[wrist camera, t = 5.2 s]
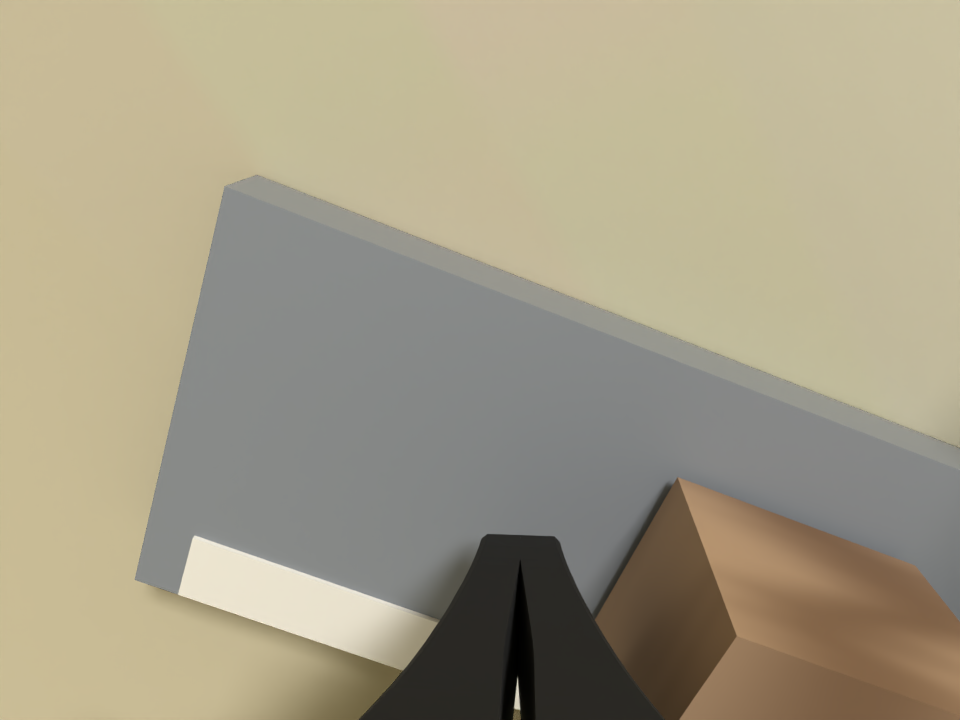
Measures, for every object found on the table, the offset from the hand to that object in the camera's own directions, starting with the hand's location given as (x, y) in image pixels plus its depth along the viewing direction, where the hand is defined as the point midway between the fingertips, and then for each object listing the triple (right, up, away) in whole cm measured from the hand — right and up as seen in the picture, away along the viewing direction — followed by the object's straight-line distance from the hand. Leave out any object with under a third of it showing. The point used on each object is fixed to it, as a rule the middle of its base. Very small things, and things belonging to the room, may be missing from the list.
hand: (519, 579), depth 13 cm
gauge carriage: (+4, -2, +2) cm, 5 cm away
